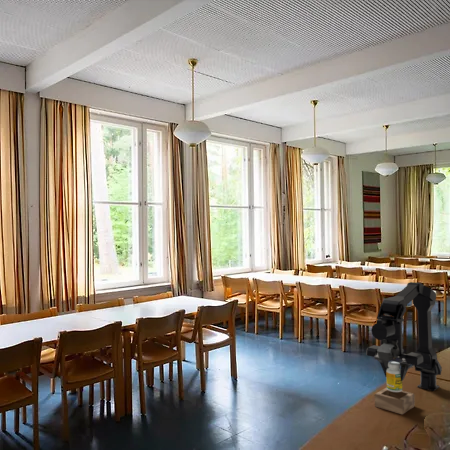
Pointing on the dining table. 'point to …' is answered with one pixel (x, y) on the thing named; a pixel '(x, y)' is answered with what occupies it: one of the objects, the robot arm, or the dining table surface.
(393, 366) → the supplement bottle
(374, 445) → the dining table surface
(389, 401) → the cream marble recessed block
